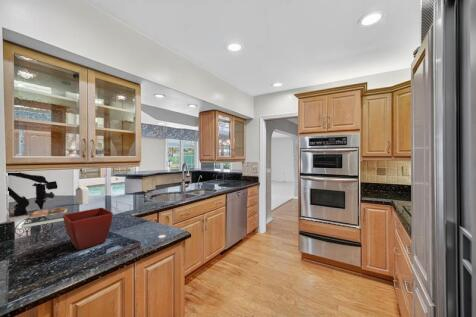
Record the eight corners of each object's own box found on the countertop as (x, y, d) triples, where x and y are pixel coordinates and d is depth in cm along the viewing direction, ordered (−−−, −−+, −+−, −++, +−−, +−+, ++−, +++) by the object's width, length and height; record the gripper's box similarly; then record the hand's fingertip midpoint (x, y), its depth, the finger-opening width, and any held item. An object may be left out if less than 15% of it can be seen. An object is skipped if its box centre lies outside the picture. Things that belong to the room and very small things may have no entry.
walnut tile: (50, 214, 162) (50, 211, 162) (51, 211, 169) (51, 208, 169) (64, 212, 167) (63, 209, 167) (63, 209, 175) (63, 207, 174)
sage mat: (21, 228, 137) (21, 227, 137) (25, 219, 153) (25, 219, 153) (71, 219, 154) (71, 218, 154) (70, 212, 170) (70, 212, 170)
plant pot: (102, 233, 128) (102, 206, 127) (114, 241, 116) (113, 212, 115) (63, 244, 113) (62, 214, 112) (72, 255, 101) (70, 222, 100)
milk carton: (89, 203, 198) (88, 184, 197) (82, 205, 191) (82, 185, 190) (82, 203, 199) (81, 184, 198) (76, 205, 192) (75, 185, 191)
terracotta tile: (33, 216, 155) (33, 214, 155) (34, 213, 163) (34, 211, 163) (47, 214, 160) (47, 212, 160) (47, 211, 168) (47, 209, 168)
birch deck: (29, 220, 152) (29, 218, 152) (31, 215, 163) (31, 213, 163) (67, 213, 167) (67, 212, 167) (66, 210, 177) (66, 208, 177)
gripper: (53, 191, 167) (54, 209, 168) (53, 187, 181) (54, 205, 182) (34, 193, 160) (35, 212, 161) (36, 189, 174) (37, 207, 175)
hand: (41, 209), depth 170 cm, fingers closed
